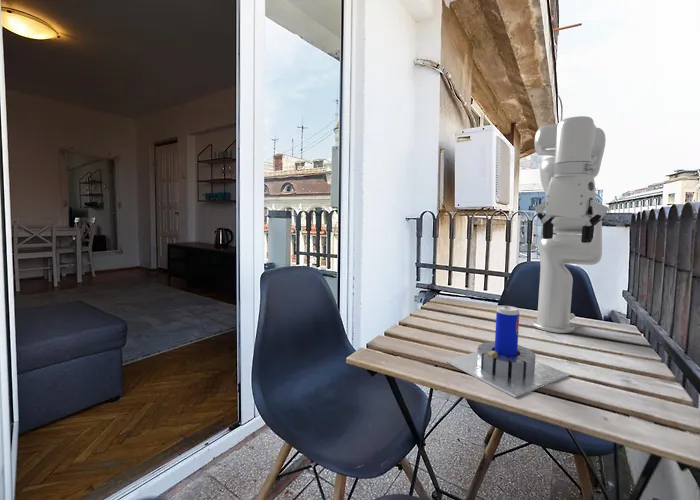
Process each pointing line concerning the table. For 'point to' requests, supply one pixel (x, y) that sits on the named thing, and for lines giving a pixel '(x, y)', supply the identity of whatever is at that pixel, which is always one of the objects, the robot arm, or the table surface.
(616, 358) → the table surface
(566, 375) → the hub
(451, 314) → the table surface
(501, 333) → the beverage can
